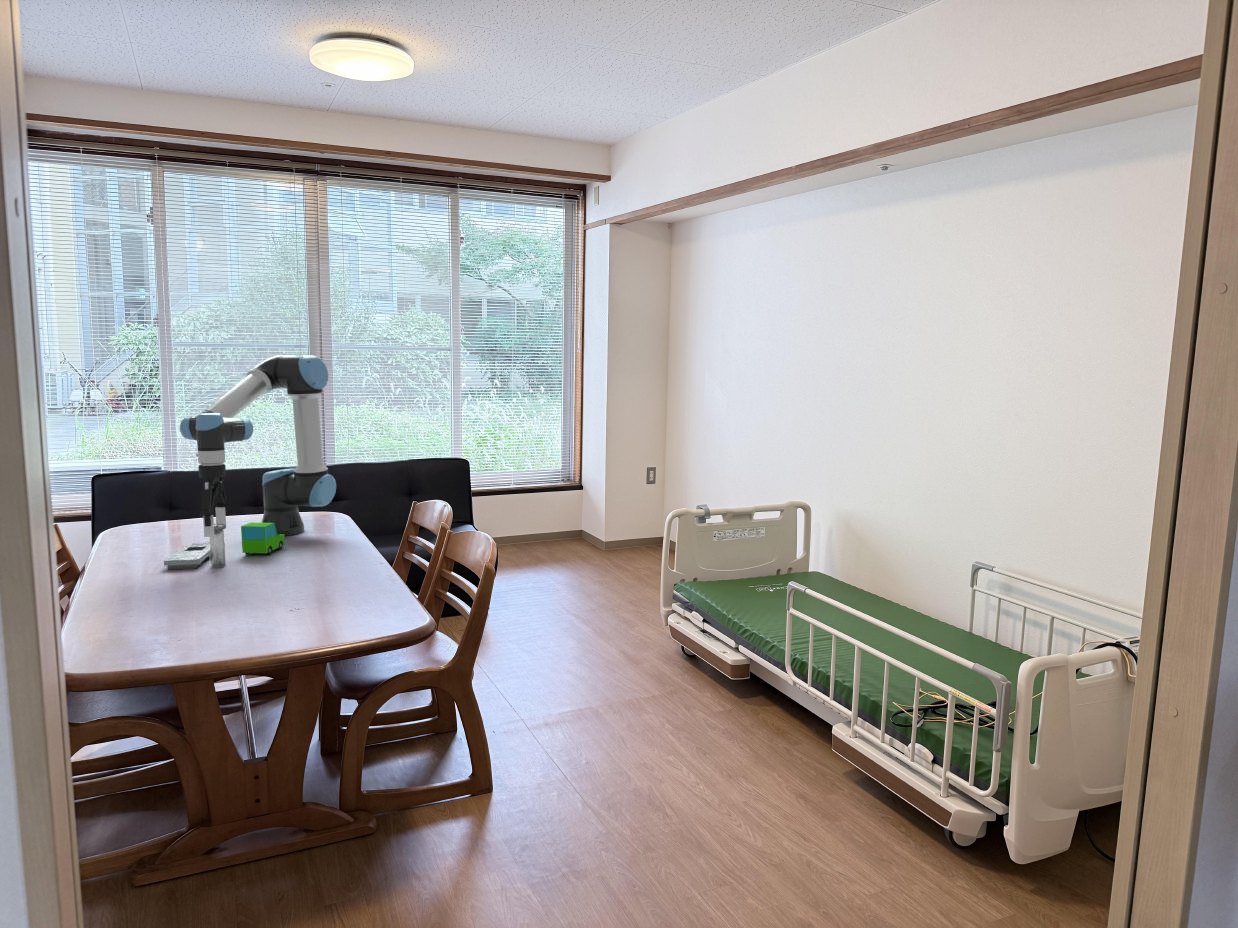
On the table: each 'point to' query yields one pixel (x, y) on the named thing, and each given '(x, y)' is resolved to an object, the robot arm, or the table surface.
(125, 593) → the table surface
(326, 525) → the table surface
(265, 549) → the toy car
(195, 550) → the plate with square hole
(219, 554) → the pin
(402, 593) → the table surface
